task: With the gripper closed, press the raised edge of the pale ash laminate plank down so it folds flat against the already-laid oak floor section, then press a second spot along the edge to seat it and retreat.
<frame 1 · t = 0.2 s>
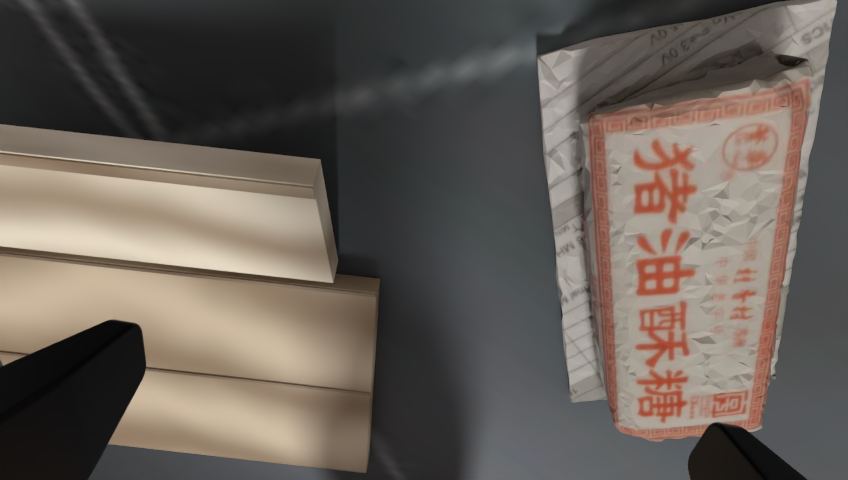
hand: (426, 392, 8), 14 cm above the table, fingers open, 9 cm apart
packaged product: (660, 229, 22), on the table
laid floor: (194, 357, 27), on the table
plank: (132, 208, 20), point 2 cm above the table, hinge at 28.0°
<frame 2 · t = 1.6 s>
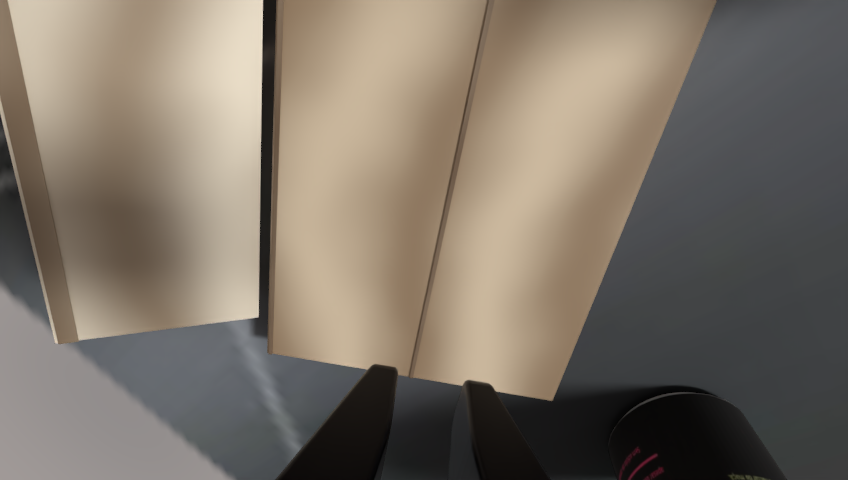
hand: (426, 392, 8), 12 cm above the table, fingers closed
beverage can: (671, 431, 25), on the table
laid floor: (455, 157, 18), on the table
plank: (145, 124, 16), point 2 cm above the table, hinge at 28.0°
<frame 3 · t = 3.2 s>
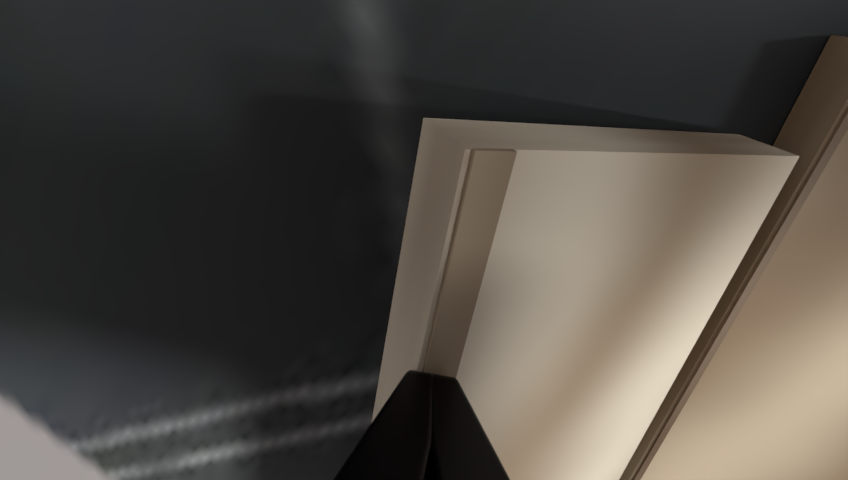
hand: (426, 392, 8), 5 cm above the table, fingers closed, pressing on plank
plank: (511, 469, 11), point 2 cm above the table, hinge at 27.9°, touching gripper
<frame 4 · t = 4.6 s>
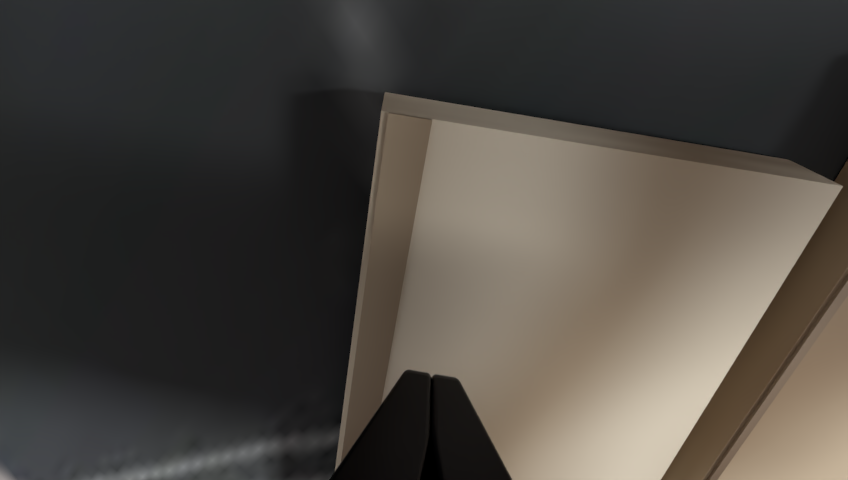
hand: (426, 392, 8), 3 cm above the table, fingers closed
plank: (489, 474, 11), point 1 cm above the table, hinge at 5.3°
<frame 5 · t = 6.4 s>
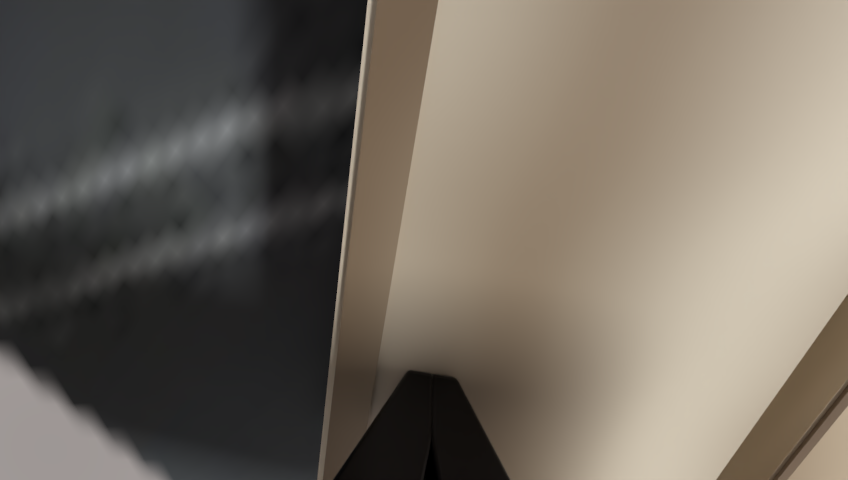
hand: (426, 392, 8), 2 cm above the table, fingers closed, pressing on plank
plank: (654, 87, 6), point 1 cm above the table, hinge at 4.7°, touching gripper
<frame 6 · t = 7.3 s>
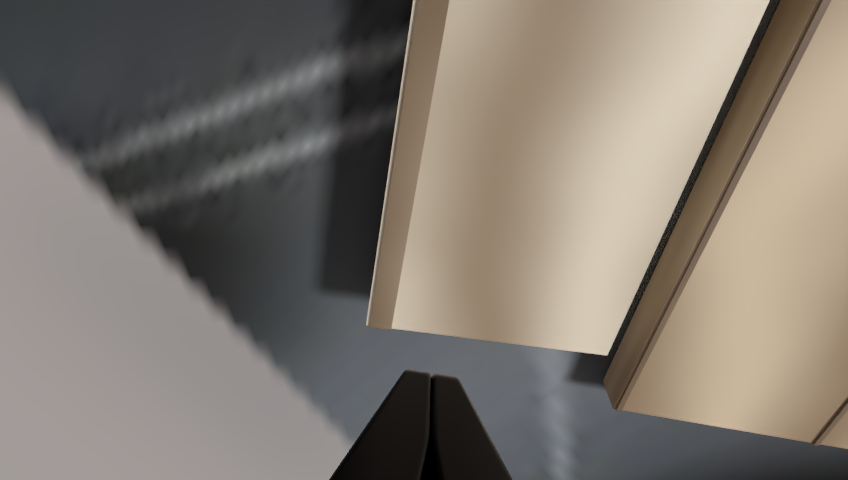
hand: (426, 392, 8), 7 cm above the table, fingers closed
plank: (572, 37, 11), point 1 cm above the table, hinge at 4.2°
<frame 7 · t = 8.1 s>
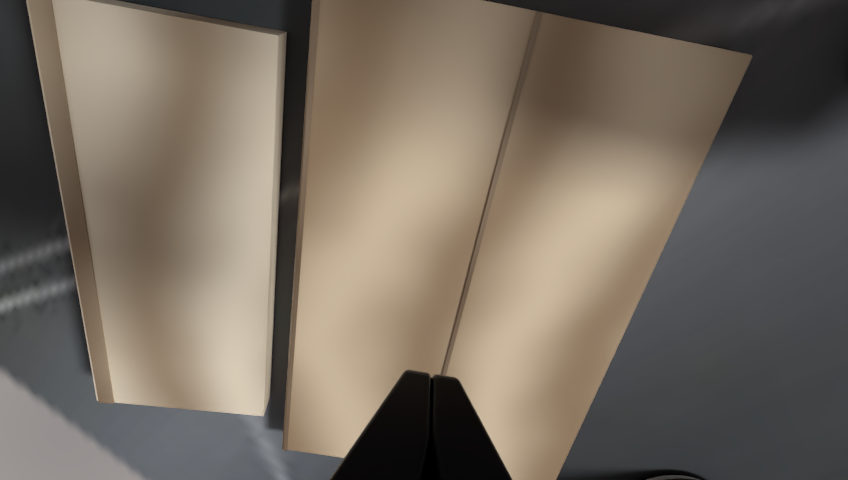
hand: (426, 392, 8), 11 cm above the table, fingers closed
laid floor: (463, 279, 20), on the table
plank: (177, 244, 18), point 1 cm above the table, hinge at 4.2°
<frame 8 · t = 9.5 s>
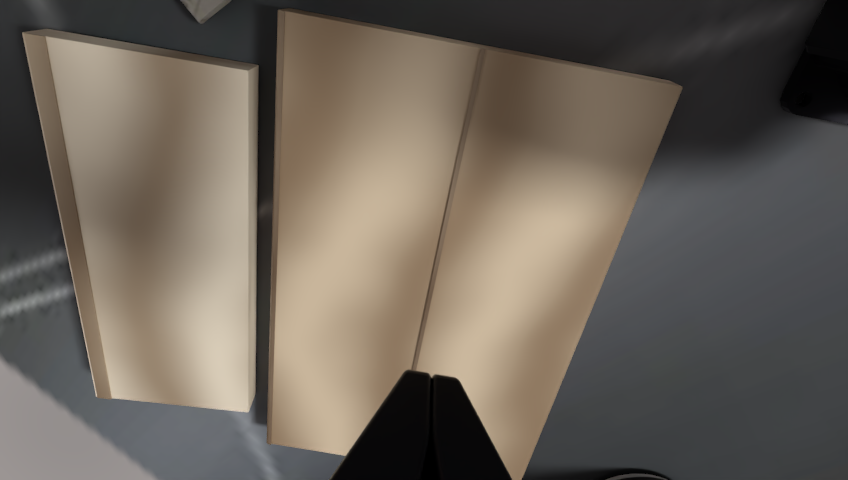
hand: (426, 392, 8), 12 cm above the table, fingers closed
laid floor: (429, 288, 21), on the table
plank: (165, 255, 20), point 1 cm above the table, hinge at 4.2°
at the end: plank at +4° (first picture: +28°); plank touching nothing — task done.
